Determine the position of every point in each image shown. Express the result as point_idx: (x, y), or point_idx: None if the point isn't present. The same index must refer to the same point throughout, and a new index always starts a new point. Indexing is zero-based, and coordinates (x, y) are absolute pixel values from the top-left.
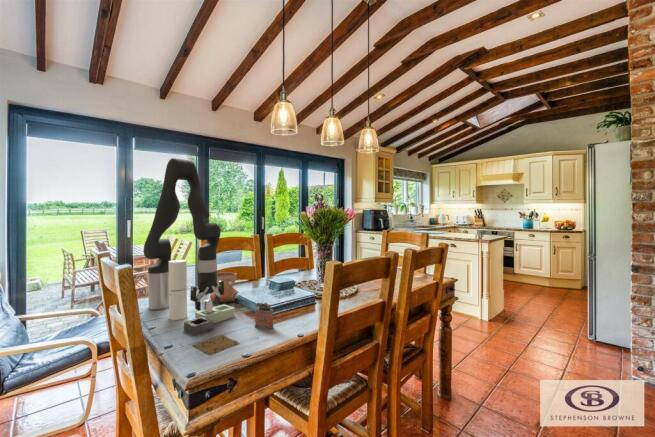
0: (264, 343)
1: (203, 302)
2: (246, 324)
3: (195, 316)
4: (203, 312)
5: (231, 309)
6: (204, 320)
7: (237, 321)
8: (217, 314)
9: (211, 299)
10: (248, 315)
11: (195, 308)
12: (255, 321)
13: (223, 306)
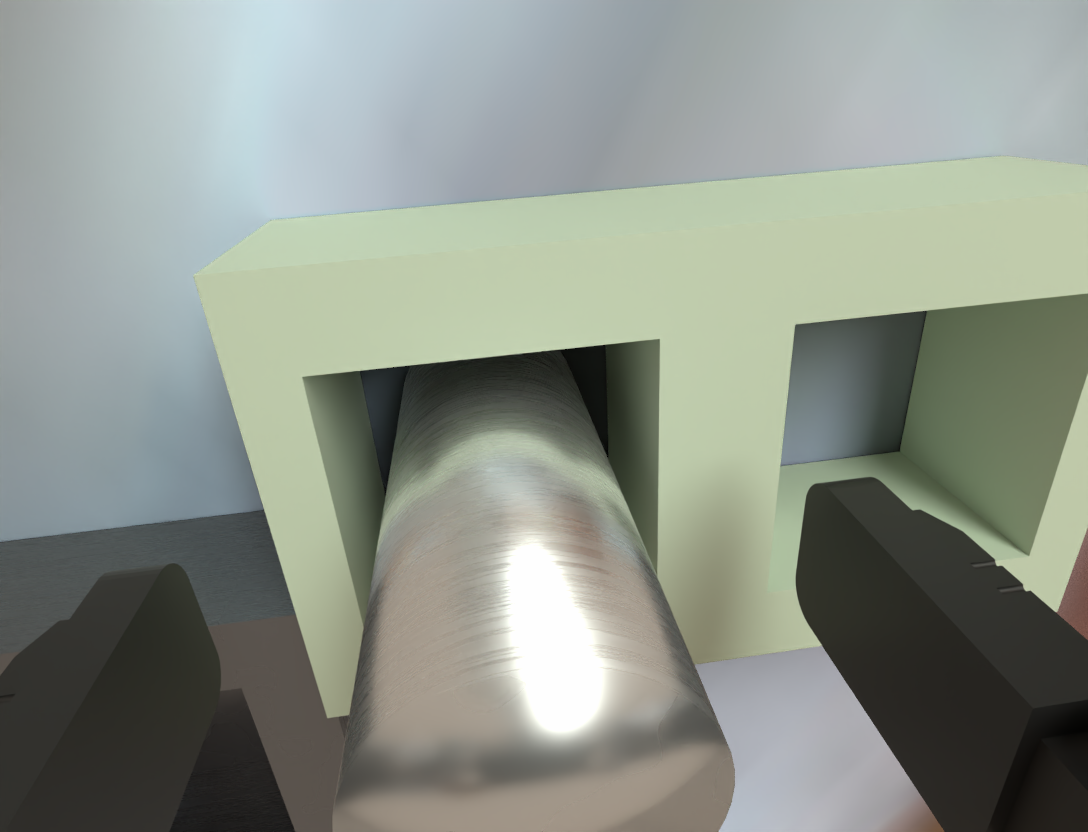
0: None
1: (353, 712)
2: (788, 809)
3: (238, 247)
4: (439, 346)
5: None
6: (278, 754)
7: (798, 682)
8: None
9: (725, 776)
10: (1070, 578)
11: (37, 648)
12: None
13: (1068, 286)
